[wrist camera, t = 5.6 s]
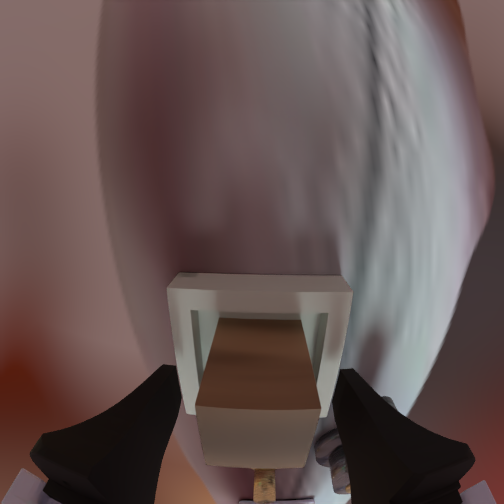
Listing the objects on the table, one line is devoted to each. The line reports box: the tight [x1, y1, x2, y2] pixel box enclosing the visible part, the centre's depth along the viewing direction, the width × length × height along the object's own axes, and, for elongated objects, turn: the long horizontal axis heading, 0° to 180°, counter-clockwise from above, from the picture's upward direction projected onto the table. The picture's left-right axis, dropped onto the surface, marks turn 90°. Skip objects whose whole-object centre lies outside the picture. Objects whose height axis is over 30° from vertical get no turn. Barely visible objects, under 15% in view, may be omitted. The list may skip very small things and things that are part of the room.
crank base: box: [251, 428, 343, 504], centre depth 15 cm, size 6×10×4 cm, turn 89°
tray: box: [167, 272, 353, 418], centre depth 14 cm, size 8×8×2 cm
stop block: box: [195, 317, 322, 469], centre depth 11 cm, size 4×4×6 cm
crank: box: [328, 396, 397, 494], centre depth 14 cm, size 9×3×3 cm, turn 179°
